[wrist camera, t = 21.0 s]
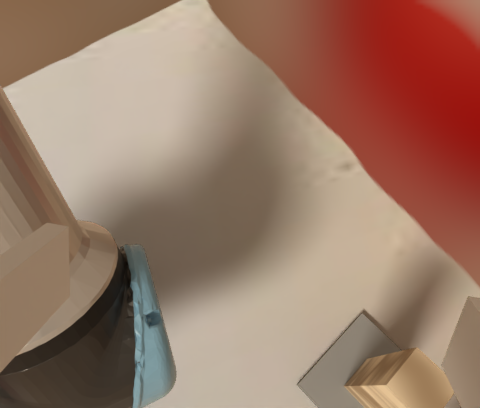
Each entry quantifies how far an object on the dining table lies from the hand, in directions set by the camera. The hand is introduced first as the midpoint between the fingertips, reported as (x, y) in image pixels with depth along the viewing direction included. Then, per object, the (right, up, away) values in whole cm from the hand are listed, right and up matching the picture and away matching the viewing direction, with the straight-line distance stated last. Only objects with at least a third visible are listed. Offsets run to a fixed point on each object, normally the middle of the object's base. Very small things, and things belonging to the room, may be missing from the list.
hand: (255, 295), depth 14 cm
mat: (+14, -17, +32) cm, 38 cm away
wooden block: (+14, -17, +31) cm, 38 cm away
